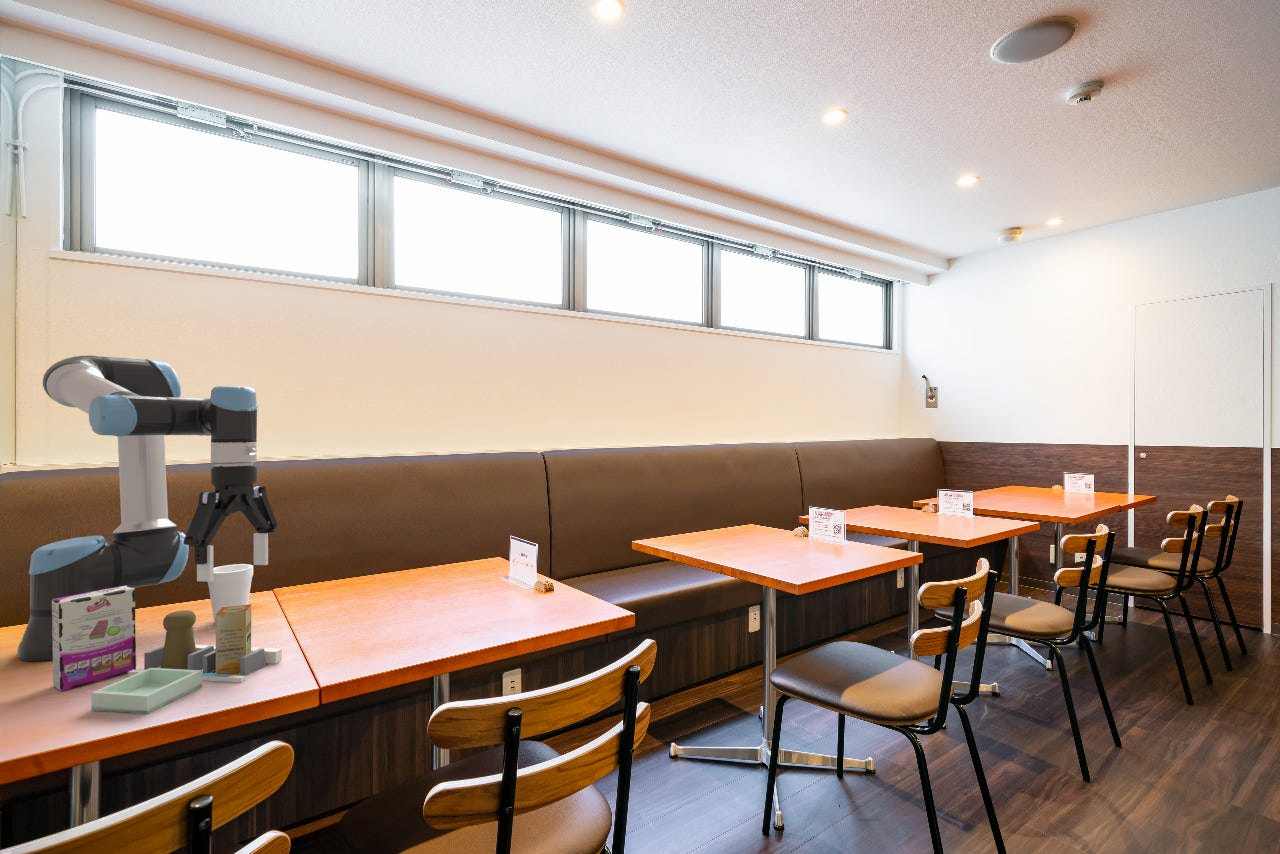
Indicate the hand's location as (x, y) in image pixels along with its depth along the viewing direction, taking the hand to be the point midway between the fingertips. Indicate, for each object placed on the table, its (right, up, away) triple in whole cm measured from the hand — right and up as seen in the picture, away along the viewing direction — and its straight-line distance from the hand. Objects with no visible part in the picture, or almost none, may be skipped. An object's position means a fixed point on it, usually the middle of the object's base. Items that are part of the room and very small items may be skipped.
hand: (234, 572), depth 117 cm
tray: (-7, -19, -12) cm, 24 cm away
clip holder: (-6, -19, +1) cm, 20 cm away
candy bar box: (-24, -20, -4) cm, 31 cm away
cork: (-12, -20, +2) cm, 23 cm away
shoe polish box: (0, -20, 0) cm, 20 cm away
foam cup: (-22, -20, +30) cm, 42 cm away
